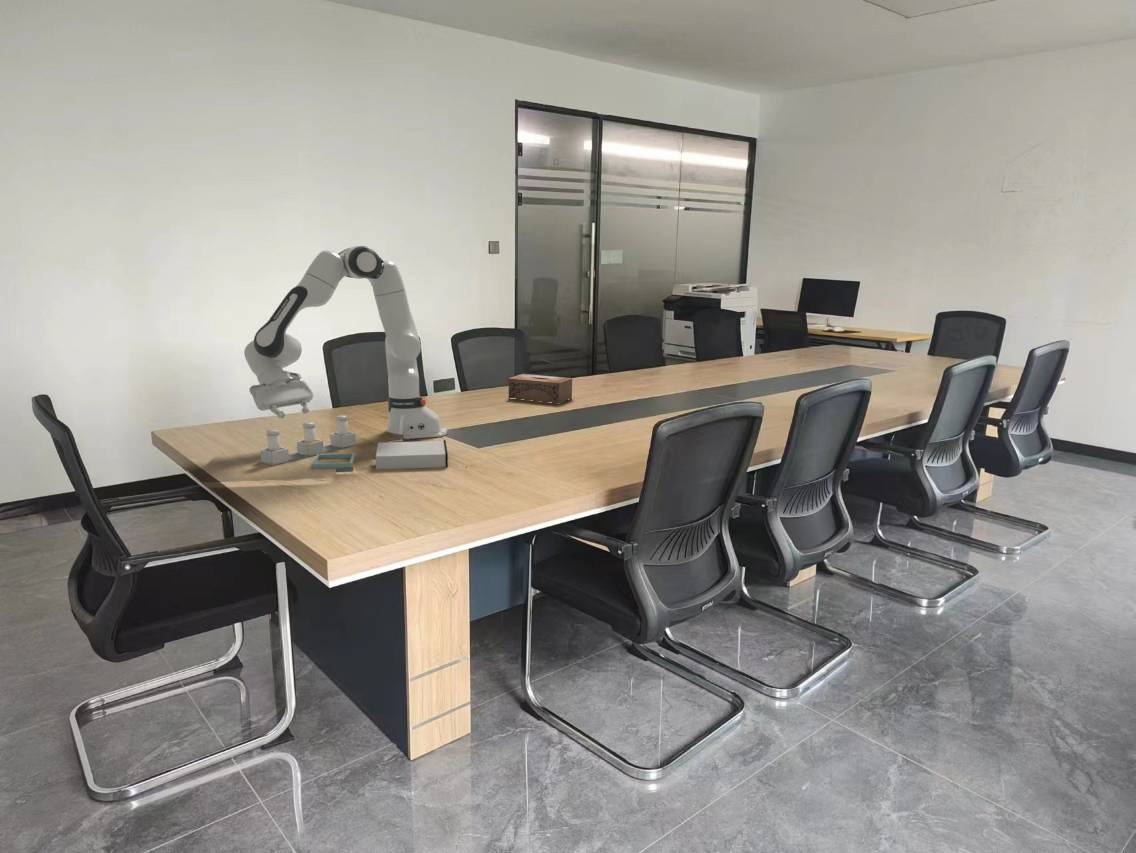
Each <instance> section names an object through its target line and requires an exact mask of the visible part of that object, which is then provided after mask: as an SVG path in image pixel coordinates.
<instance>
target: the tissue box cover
mask: <svg viewBox="0 0 1136 853" xmlns="http://www.w3.org/2000/svg"><path fill="white" fill-rule="evenodd" d="M509 398H516V399H524V400H533V401H542V402H552V403H561V402H564V401H566V400H568V399H571V398H572V399H573V378H572V377H561V376H549V375H540V374H539V375H538V374H528V373H527V374H526V373H521V374H518V375H515V376H512V377H508V399H509ZM572 399H571V400H572ZM568 401H569V400H568ZM566 402H567V401H566ZM564 403H565V402H564ZM561 404H562V403H561Z"/></svg>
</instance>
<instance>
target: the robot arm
mask: <svg viewBox="0 0 1136 853" xmlns="http://www.w3.org/2000/svg"><path fill="white" fill-rule="evenodd" d="M345 277H347V278H350V279H358V280H360V279H367V280H368V281H369V283H370V285H371V287H372V291H373V295H374V300H375V304H376V306H377V311H378V315H379V318H380V321H381V326H382V327H383V330H384V333H385V339H384V345H385V346H384V348H385V357H386V358H385V359H386V369H387V375H388V376H387V378H388V380H387V381H388V396H387V410H388V421H387V427H386V432H387V433H391V434H395V435H402V436H403V437H402V439H403V440H409V439H410V440H411V439H423V438H424V439H425V438H426V439H427V438H440V437H444V436H446V435H447V432H448V430H447V428H446V427H445V426H442V423H441V420H440V417H439V415H438V414H437V413H436V412H435V411H433V410H432V409H430V408H429V407H428V406H426V404H427V400H426V399H425V397H424V396H421V395H420V380H419V379H420V377H419V376H420V375H419V369H418V362H417V358H418V356H419V355H420V353H421V349H422V348H421V347H422V345H421V341H420V337H419V334H418V330H417V328H416V325H415V321H414V318H413V316H412V312H411V308H410V305H409V300H408V296H407V292H406V289H405V285H404V281H403V279H402V275H401V273H400V270H399V268H398V266H397V264H396V263H394V262H393V261H390V260H383V259H382V257H380V255H379V254H378V253H377V252H376V251H375V250H374V249H373V248H371V247H369V246H364V245H354V246H351V247H348V248H346V249H344V250H342V251H340V252H339V253H337V252H334V251H331V250H322V251H321V252H319V253H318V254H317V255H316V257H315V258H314V259H313V260H312V262H311V263H310V265H309V266H308V268H307V270H306V271H305V273H304V275H303V277H302V278H301V279H300V281H299V282H298V284H297V285H296V286H295V287H293V288H292V289H290V290H289V292H287V294H286V295H285V296H284V297H283V299H282V301H281V302H280V304H279V305H278V306H277V307H276V309H275V311H274V312H273V313H272V315H271V316H270V318H269V319H268V320H267V322H266V323H264V324H263V325H262V326H261V327H260V328H259V329H257V332H256V333H255V335H254V338H253V340H252V341H250V342H249V343H248V344H247V345H246V346H245V348H244V353H243V354H244V358H245V360H246V362H247V364H248V367H249V368H250V370H251V372H252V373H253V374H254V375H255V376H256V378H257V382H258V384H257V385H256V384H254V385H253V384H252V385H251V386H250V387H249V390H248V391H249V393H250V395H251V396H252V398H253V401H254V403H255V406H256V408H257V409H258V410H260V411H267V410H269V411H270V412H271V413H273V414H275V415H276V416H277V417H278V419H283V418H285V416H286V414H285V413H284V411H283V410H280V408H285V407H290V406H296V405H301V407H302V409H301V412H302V414H304V415H305V414H309V412H310V409H309V407H308V403H310V402H311V401H312V400H313V398H314V392H313V391H312V389H311V387H310V386H309V385H308V383H307V382H306V381H305V380H303V379H302V375H301V373H298V372H293V371H287V370H284V368H286V367H288V366H290V365H292V364H294V363H295V362H297V361H298V360H299V359H300V356H301V354H302V351H303V349H302V344H301V342H300V341H299V340H298V339H296V338H295V337H293V336H292V335H289V334H288V333H286V332H287V330H288V328H289V327H290V326H291V324H292V322H293V321H294V320H295V318H296V316H297V315H298V314H299V313H300V312H301V311H302V310H303V309H307V308H317V307H322V306H325V305H326V304H327V303H328V302H329V301H330V300H331V299H332V297H333V296H334V294H335V291H336V289H337V287H338V285H339V283H340V282H341V280H342V279H343V278H345Z"/></svg>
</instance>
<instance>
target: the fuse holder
mask: <svg viewBox="0 0 1136 853" xmlns="http://www.w3.org/2000/svg"><path fill="white" fill-rule="evenodd" d="M329 436H330V444H328V445H324V441H323V440H322V439H319V438H315V439H316V442H313V443H309V444H308V443H304V439H300V440H297V441H296V447H297V448H296V450H297V452H293V453H289V449H288V447H283V446H280V450H279V451H274V452H270V451H268V447H265V448H260V461H257V463H259V464H261V465H266V466H269V467H272V466H277V465H280V464H285V463H288V462H292V461H293V462H294V461H296V460H297V461H298V460H301V459H305V458H309V457H313V456H316V455H317V454H327V453H329V452H334V451H337V450H341V449H345V448H349V447H350V448H351V447H353V446H356V445H357V446H358V445H359V443H357V442H356V433H355V432H352V431H349V430H348V435H343V436H340V435H337V431H336V432H331V433H330V434H329Z"/></svg>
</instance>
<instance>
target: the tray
mask: <svg viewBox="0 0 1136 853" xmlns="http://www.w3.org/2000/svg"><path fill="white" fill-rule="evenodd" d="M320 459H321V460H323V459H326V460H327V459H350V460H349V462H348V461H347V462H323V463H321V462H320V463H318V462H319V460H320ZM355 459H356V452H349V453H348V452H346V453H345V452H344V453H342V452H341V453H322V454H317V455H315V457H314V459H313V461H312V463H311V469H335V473H349V472H350V473H351V472H353V470H354V467H353V466H354V462H355Z"/></svg>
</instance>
